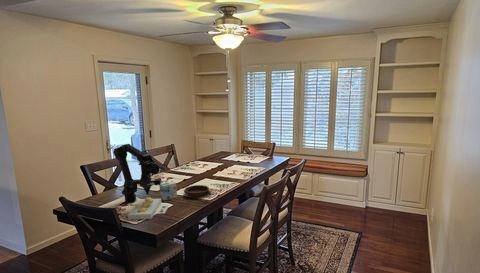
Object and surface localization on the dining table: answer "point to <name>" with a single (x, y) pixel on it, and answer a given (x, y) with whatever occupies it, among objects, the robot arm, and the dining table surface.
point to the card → (162, 210)
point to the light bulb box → (168, 190)
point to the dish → (197, 191)
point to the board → (148, 213)
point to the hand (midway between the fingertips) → (147, 194)
